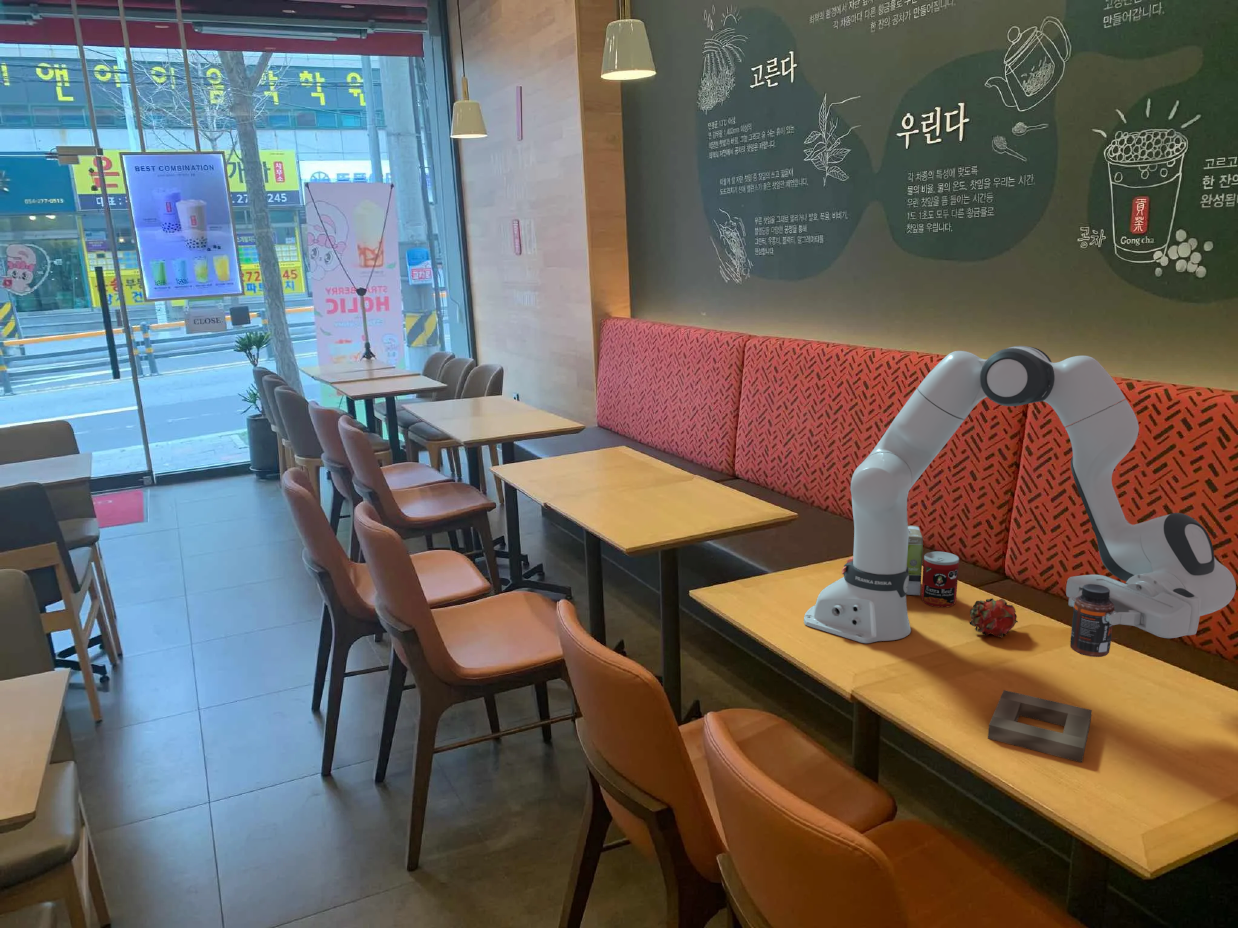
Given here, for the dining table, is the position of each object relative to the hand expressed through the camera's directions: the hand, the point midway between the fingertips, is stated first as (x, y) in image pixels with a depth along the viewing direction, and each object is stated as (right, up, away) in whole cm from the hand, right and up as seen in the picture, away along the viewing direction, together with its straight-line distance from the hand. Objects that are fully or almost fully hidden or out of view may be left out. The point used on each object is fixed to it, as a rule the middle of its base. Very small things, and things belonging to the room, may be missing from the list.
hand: (1089, 610), depth 145 cm
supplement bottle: (+1, -7, +2) cm, 8 cm away
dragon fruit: (+1, -12, +41) cm, 42 cm away
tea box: (-13, -6, +67) cm, 69 cm away
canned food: (-4, -8, +58) cm, 59 cm away
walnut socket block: (-7, -21, +2) cm, 22 cm away
